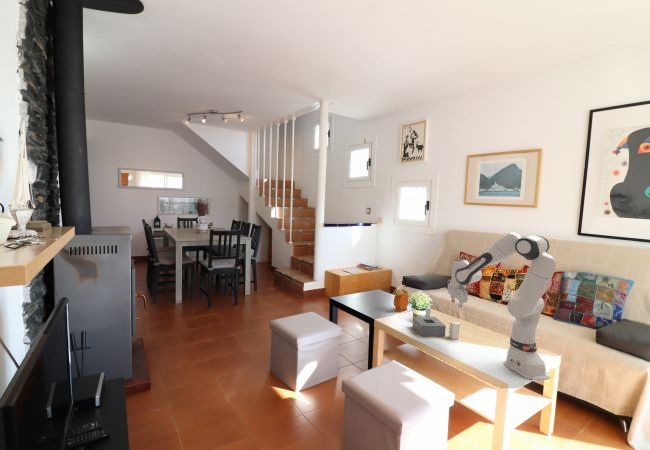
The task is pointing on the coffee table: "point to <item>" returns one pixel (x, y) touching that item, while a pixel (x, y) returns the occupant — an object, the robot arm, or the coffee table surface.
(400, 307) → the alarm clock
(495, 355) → the coffee table surface
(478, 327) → the coffee table surface
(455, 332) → the plug peg
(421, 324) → the socket block
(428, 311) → the small box
